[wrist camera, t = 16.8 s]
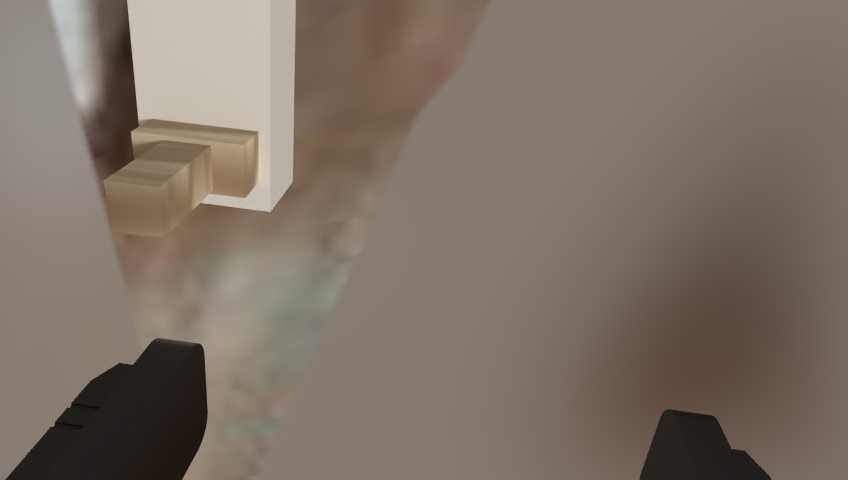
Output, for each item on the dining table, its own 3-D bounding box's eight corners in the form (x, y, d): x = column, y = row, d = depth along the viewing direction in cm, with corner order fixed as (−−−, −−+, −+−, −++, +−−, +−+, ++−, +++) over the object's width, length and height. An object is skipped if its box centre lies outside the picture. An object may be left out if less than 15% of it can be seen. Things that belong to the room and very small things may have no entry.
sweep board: (158, -181, 34) (108, -198, 29) (298, -165, 34) (270, -179, 29) (180, 167, 42) (145, 195, 38) (292, 181, 42) (270, 211, 38)
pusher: (152, 118, 36) (63, 170, 28) (258, 131, 36) (198, 186, 28) (157, 169, 37) (73, 231, 30) (259, 181, 37) (201, 247, 29)
